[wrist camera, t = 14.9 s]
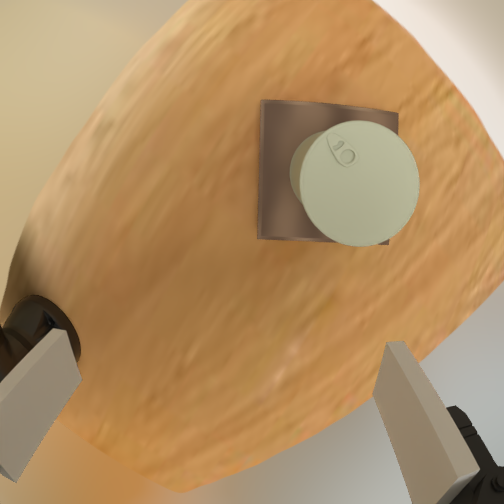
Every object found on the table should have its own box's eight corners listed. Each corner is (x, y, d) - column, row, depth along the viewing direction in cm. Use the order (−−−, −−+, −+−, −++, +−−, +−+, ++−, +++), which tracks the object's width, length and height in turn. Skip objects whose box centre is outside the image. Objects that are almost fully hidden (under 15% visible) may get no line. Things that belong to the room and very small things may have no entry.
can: (341, 114, 30) (377, 94, 18) (389, 185, 32) (442, 203, 20) (271, 163, 32) (271, 169, 20) (322, 233, 34) (347, 274, 22)
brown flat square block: (258, 230, 38) (257, 239, 34) (262, 105, 34) (260, 99, 30) (378, 235, 38) (388, 245, 34) (386, 116, 33) (398, 112, 29)
